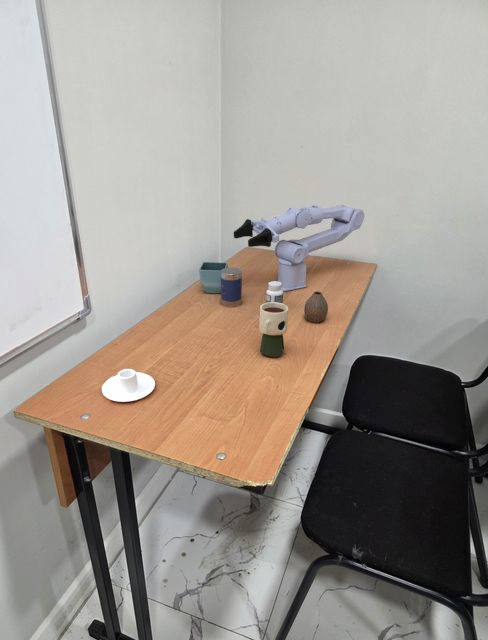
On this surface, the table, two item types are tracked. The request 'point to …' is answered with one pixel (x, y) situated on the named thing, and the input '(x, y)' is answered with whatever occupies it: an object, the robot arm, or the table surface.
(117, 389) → the candle holder
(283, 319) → the character mug
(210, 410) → the table surface
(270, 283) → the pill bottle
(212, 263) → the flower pot
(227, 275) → the tin can
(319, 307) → the vase
